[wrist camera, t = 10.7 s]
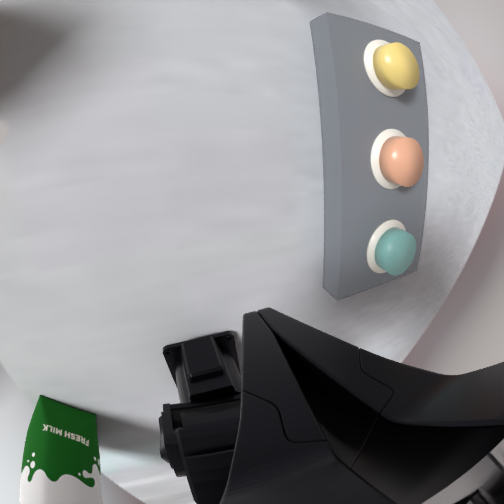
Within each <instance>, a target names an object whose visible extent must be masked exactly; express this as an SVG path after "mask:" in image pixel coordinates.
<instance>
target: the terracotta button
mask: <svg viewBox="0 0 504 504" xmlns="http://www.w3.org/2000/svg"><path fill="white" fill-rule="evenodd" d="M379 165H380V170H381V173H382V175H383V176H384V178H385V179H386V180H387V181H389V182H391V183H394V184H398V185H401V186H405V187H411V186H413V185H415V184H416V183H417V182H418V180H419V179H420V177H421V174H422V171H423V167H424V156H423V152H422V149H421V147H420V145H419V143H418V142H417V141H416V140H415V139H413V138H408V137H399V136H392V137H390V138H388V139H387V140H386V141H385V142H384V143H383V145H382V147H381V150H380V155H379Z"/></svg>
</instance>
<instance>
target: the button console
mask: <svg viewBox="0 0 504 504" xmlns="http://www.w3.org/2000/svg"><path fill="white" fill-rule="evenodd" d="M310 26H311V33H312V40H313V47H314V55H315V63H316V72H317V81H318V92H319V103H320V115H321V130H322V147H323V170H324V274H323V288H324V289H325V290H327V291H328V292H329V293H330V294H331V295H332V296H333V297H334V298H335V299H336V300H339V299H342V298H345V297H348V296H351V295H353V294H356V293H359V292H362V291H365V290H367V289H370V288H373V287H375V286H378V285H381V284H383V283H386V282H389V281H391V280H394V279H396V278H399V277H401V276H404V275H406V274H409V273H411V272H414V271H416V270H417V267H418V261H419V256H420V249H421V243H422V236H423V228H424V220H425V211H426V200H427V186H428V163H429V130H428V108H427V94H426V84H425V75H424V67H423V60H422V54H421V48H420V42H417V41H415V40H413V39H410V38H408V37H405V36H403V35H400V34H398V33H395V32H392V31H390V30H387V29H384V28H381V27H378V26H375V25H372V24H369V23H365V22H362V21H359V20H355V19H352V18H348V17H344V16H340V15H336V14H331V13H327V12H326V13H324V14H322V15H321V16H319V17H317V18H315V19H314V20H312V21H310ZM395 42H398V43H401V44H403V45H405V46H406V47H408V48H409V49H410V51H411V52H412V53H413V55H414V56H415V58H416V60H417V63H418V66H419V73H420V76H419V81H418V84H417V85H416V87H414V88H412V89H400V90H392V89H390V88H388V87H386V86H385V85H384V84H383V83H382V82H381V81H380V80H379V78H378V76H377V75H376V72H375V70H374V67H373V53H374V51H375V49H376V48H377V47H379V46H382V45H386V44H390V43H395ZM392 136H399V137H408V138H413V139H415V140H416V141H417V142H418V143H419V145H420V147H421V149H422V152H423V156H424V167H423V171H422V174H421V177H420V179H419V180H418V182H417V183H416V184H415V185H413V186H411V187H405V186H401V185H398V184H394V183H391V182H389V181H387V180H386V179H385V178H384V176H383V175H382V173H381V170H380V165H379V155H380V150H381V147H382V145H383V143H384V142H385V141H386V140H387V139H388V138H390V137H392ZM393 227H397V228H399V229H402V230H404V231H406V232H408V233H410V234H412V235H413V236H414V238H415V240H416V253H415V256H414V259H413V261H412V263H411V265H410V266H409V267H408V269H407V270H406V271H405V272H403V273H402V274H400V275H397V276H393V275H391V274H389V273H388V272H386V271H385V270H383V269H381V268H380V267H379V266H378V265H377V264H376V262H375V256H374V255H375V248H376V245H377V242H378V240H379V239H380V237H381V236H382V234H383V233H384V232H385V231H386V230H388V229H390V228H393Z"/></svg>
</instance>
